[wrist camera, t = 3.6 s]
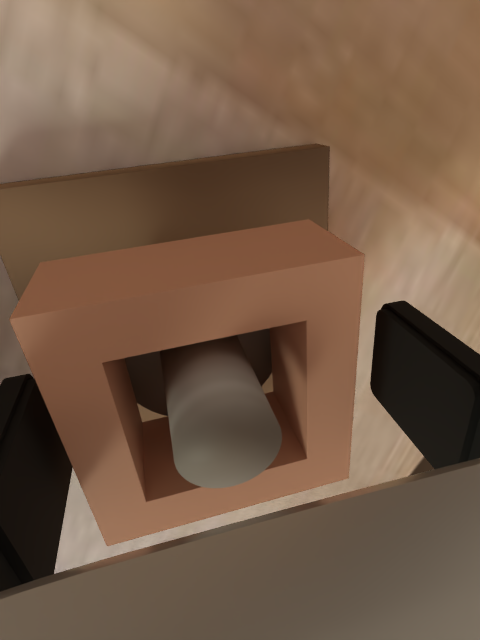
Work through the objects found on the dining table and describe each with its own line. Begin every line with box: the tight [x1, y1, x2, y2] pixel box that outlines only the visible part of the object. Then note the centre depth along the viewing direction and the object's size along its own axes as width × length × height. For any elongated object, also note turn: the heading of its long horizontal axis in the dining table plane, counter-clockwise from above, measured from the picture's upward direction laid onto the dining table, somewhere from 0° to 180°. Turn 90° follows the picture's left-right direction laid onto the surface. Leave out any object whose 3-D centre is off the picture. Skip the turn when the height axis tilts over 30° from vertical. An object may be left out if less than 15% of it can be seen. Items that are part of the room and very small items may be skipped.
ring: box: [9, 219, 365, 546], centre depth 11 cm, size 7×7×3 cm
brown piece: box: [0, 144, 330, 488], centre depth 12 cm, size 10×10×7 cm
